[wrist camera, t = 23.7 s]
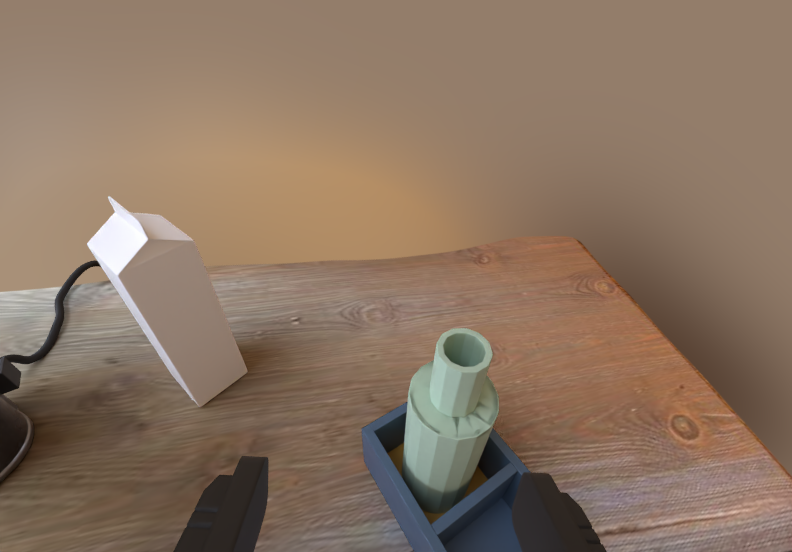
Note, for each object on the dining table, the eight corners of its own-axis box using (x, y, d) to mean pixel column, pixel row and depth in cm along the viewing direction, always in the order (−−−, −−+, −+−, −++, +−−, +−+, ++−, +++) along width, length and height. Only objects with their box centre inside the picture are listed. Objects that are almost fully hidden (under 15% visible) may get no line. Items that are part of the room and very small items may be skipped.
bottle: (389, 465, 35) (393, 335, 22) (440, 432, 37) (469, 299, 25) (427, 529, 31) (457, 415, 18) (480, 487, 34) (539, 363, 21)
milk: (220, 345, 46) (147, 181, 31) (249, 372, 43) (182, 205, 29) (171, 377, 42) (63, 208, 28) (199, 409, 39) (94, 239, 25)
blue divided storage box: (499, 706, 24) (525, 707, 20) (363, 461, 36) (361, 428, 31) (590, 602, 28) (627, 584, 24) (442, 411, 40) (449, 376, 35)
